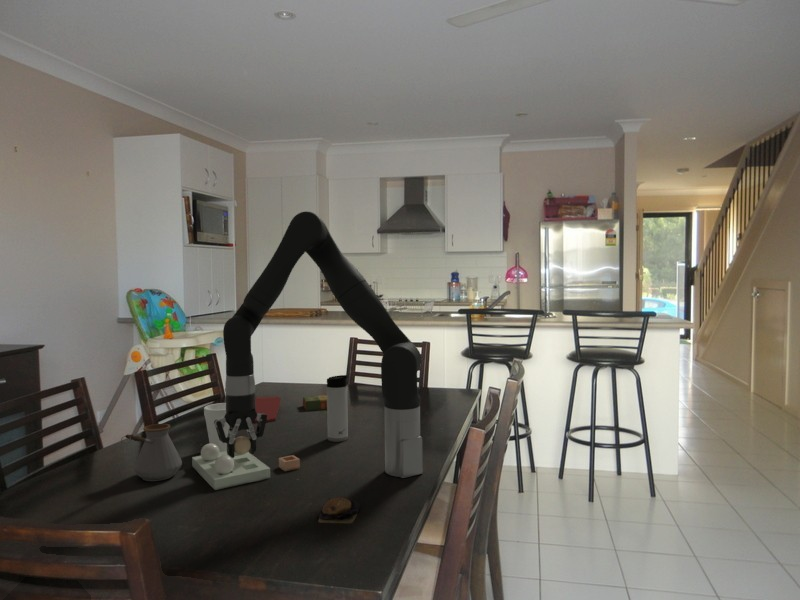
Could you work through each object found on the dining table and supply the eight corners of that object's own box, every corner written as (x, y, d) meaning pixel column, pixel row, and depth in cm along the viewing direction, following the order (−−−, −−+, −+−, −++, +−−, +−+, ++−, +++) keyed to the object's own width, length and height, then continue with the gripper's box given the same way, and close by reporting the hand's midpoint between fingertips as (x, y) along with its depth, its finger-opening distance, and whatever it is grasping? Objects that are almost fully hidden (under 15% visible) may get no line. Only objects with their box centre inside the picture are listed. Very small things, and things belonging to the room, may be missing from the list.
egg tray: (270, 478, 149) (270, 468, 149) (214, 490, 141) (214, 479, 141) (243, 456, 166) (242, 448, 166) (192, 466, 158) (191, 457, 158)
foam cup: (229, 443, 179) (228, 401, 178) (245, 450, 172) (243, 406, 172) (199, 450, 172) (198, 406, 172) (214, 457, 166) (213, 412, 165)
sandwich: (354, 526, 121) (354, 509, 121) (314, 525, 122) (314, 508, 122) (362, 505, 132) (362, 489, 132) (325, 504, 133) (325, 488, 132)
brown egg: (253, 455, 155) (253, 437, 154) (235, 458, 152) (235, 440, 152) (247, 450, 159) (247, 432, 158) (229, 453, 156) (229, 435, 156)
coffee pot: (147, 468, 157) (145, 413, 157) (189, 468, 157) (188, 413, 156) (103, 499, 136) (100, 435, 135) (151, 500, 135) (149, 435, 135)
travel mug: (345, 442, 179) (344, 377, 178) (324, 441, 180) (323, 376, 179) (351, 436, 185) (350, 373, 184) (331, 435, 186) (330, 373, 185)
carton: (347, 408, 224) (347, 397, 224) (305, 411, 220) (304, 400, 220) (343, 403, 232) (343, 393, 232) (302, 406, 228) (302, 395, 228)
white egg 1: (222, 462, 156) (221, 444, 156) (203, 465, 153) (203, 447, 153) (216, 457, 160) (216, 440, 160) (198, 460, 157) (198, 443, 157)
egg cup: (299, 468, 156) (299, 459, 156) (285, 471, 153) (284, 462, 153) (293, 464, 159) (293, 455, 159) (278, 467, 157) (278, 457, 157)
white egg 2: (237, 475, 146) (236, 456, 146) (217, 479, 143) (217, 459, 143) (231, 470, 150) (230, 451, 150) (212, 473, 147) (211, 454, 147)
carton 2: (275, 432, 205) (282, 405, 230) (275, 419, 204) (281, 393, 228) (240, 433, 204) (250, 406, 228) (239, 420, 203) (249, 394, 227)
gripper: (217, 397, 147) (218, 464, 148) (271, 390, 155) (272, 454, 156) (208, 392, 154) (210, 456, 154) (261, 385, 161) (262, 447, 162)
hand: (241, 454), depth 155 cm, fingers closed on brown egg, 4 cm apart
